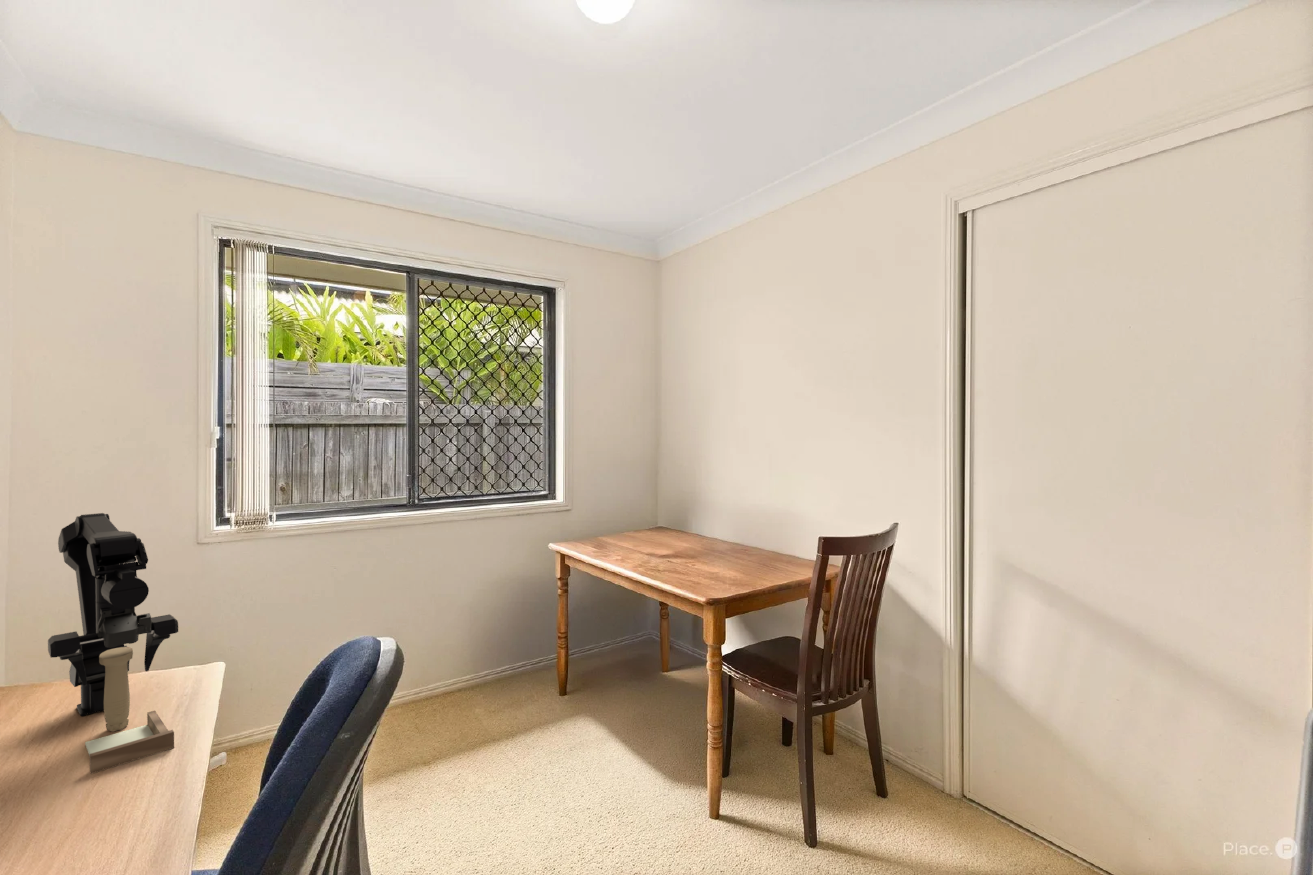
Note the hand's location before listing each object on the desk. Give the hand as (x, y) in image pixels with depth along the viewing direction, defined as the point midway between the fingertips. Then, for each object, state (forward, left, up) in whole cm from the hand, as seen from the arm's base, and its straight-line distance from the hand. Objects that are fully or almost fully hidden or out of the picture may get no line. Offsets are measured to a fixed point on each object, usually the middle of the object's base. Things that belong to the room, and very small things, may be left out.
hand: (116, 677), depth 120 cm
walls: (+10, 0, -10) cm, 14 cm away
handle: (0, 0, -10) cm, 10 cm away
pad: (+10, 0, -10) cm, 14 cm away
